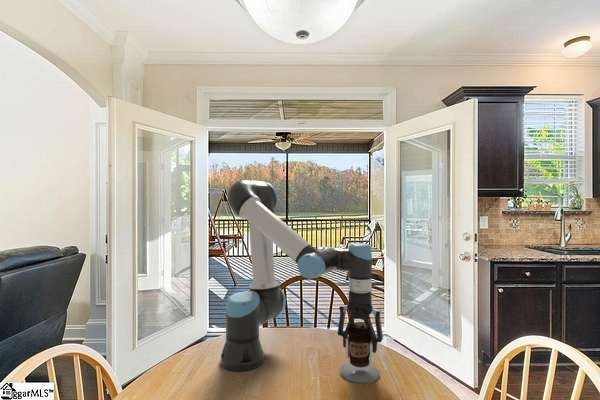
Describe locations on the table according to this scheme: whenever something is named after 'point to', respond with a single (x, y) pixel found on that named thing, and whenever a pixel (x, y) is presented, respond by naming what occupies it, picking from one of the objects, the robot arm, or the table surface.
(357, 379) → the grey domed puck
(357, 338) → the coffee cup
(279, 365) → the table surface
